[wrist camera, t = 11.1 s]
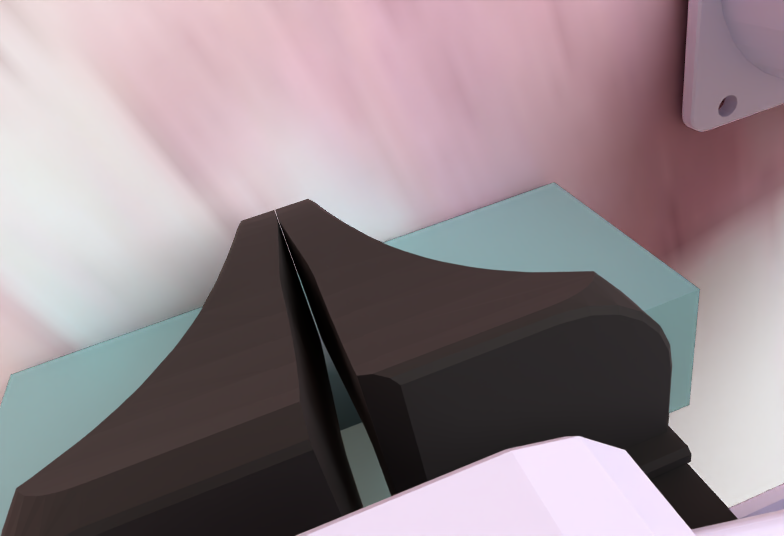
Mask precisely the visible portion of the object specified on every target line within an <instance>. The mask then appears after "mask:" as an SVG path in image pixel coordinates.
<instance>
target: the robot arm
mask: <svg viewBox="0 0 784 536" xmlns="http://www.w3.org/2000/svg"><path fill="white" fill-rule="evenodd" d="M724 98H725V101H724V104H723V105H722V107H721V108H720V109H719V106H720V103H721V102H722V100H723V99H724ZM782 104H784V0H689V3H688V21H687V38H686V55H685V73H684V90H683V107H682V118H683V122H684V123H685V125H686V126H687V127H690V128H692V129H694V130H697V131H699V132H703V131H708V130H711V129H714V128H717V127H720V126H722V125H725V124H728V123H731V122H734V121H736V120H739V119H742V118H745V117H748V116H751V115H753V114H756V113H759V112H762V111H765V110H767V109H770V108H773V107H776V106H779V105H782ZM718 109H719V110H718ZM276 213H277V216H276V214H275V211H274V210H273V211H270V212H267V213H264V214H261V215H258V216H255V217H252V218H249V219H246V220H243V221H241V223H240V225H239V227H238V229H237V232H236V234H235V237H234V240H233V243H232V246H231V248H230V251H229V254H228V256H227V259H226V261H225V263H224V265H223V268H222V270H221V272H220V274H219V277H218V279H217V281H216V283H215V285H214V287H213V289H212V291H211V293H210V295H209V296H208V298H207V300H206V302H205V304H204V306H203V307H202V309H201V311H200V313H199V314H198V316H197V317H196V319H195V320H194V322H193V323H192V325H191V326H190V327H189V329H188V330H187V331H186V333H185V334H184V336H183V337H182V338H181V340H180V341H179V342H178V344H177V345H176V346H175V347H174V349H173V350H172V351H171V352H170V353H169V354H168V356H167V357H166V358H165V359H164V360H163V361H162V362H161V363H160V365H159V366H158V367H157V368H156V369H155V370H154V371H153V372H152V374H151V375H150V376H149V377H148V378H147V379H146V380H145V381H144V382H143V384H142V385H141V386H140V387H139V388H138V389H137V390H136V391H135V392H134V393H133V394H132V395H131V396H129V397H128V398H127V399H126V400H125V401H124V402H123V403H122V404H121V405H120V406H119V407H118V408H117V409H116V410H115V411H114V412H112V413H111V414H110V415H109V416H108V417H107V418H106V419H104V420H103V421H102V422H101V423H100V424H99V425H98V426H97V427H95V428H94V429H93V430H92V431H91V432H89V433H88V434H87V435H86V436H85V437H83V438H82V439H81V440H80V441H78V442H77V443H76V444H75V445H73V446H72V447H71V448H69V449H68V450H67V451H65V452H64V453H63V454H61V455H60V456H59V457H57V458H56V459H55V460H54V461H52V462H51V463H50V464H48V465H47V466H46V467H44V468H43V469H42V470H40V471H39V472H38V473H36V474H35V475H34V476H33V477H31V478H30V479H28V480H27V481H26V482H24V483H23V484H21V485H20V486H19V487H17V488H16V490H15V493H14V496H13V499H12V502H11V505H10V508H9V511H8V514H7V517H6V520H5V523H4V526H3V529H2V533H1V536H784V483H783V484H781V485H779V486H777V487H775V488H772V489H770V490H768V491H766V492H764V493H761V494H759V495H757V496H755V497H752V498H750V499H748V500H746V501H744V502H741V503H739V504H737V505H735V506H732V507H730V508H728V507H727V506H726V505H725V504H724V503H723V502H722V501H721V500H720V498H719V497H718V496H717V495H716V494H715V493H714V492H713V491H712V490H711V489H710V488H709V486H708V485H707V484H706V483H705V482H704V481H703V480H702V479H701V478H700V477H699V476H698V474H697V473H696V472H695V471H694V470H693V469H692V468H691V467H690V466H689V465H688V464H687V463H689V462H691V452H690V450H689V448H688V446H687V445H686V444H685V443H684V442H683V441H682V440H681V439H680V438H679V436H678V435H677V434H676V433H675V432H674V431H673V430H672V429H671V428H670V427H669V426H668V420H669V406H670V392H671V377H672V358H671V347H670V343H669V341H668V339H667V337H666V335H665V333H664V331H663V330H662V328H661V326H660V325H659V324H658V323H657V322H656V321H655V320H653V319H652V318H651V317H650V316H649V315H648V314H646V313H645V312H644V311H643V310H642V309H641V308H640V307H639V306H638V305H637V304H635V303H634V302H633V301H632V300H631V299H630V298H629V297H627V296H626V295H625V294H624V293H623V292H622V291H620V290H619V289H618V288H616V287H615V286H613V285H612V284H611V283H609V282H608V281H607V280H605V279H604V278H602V277H601V276H600V275H598V274H597V273H596V272H594V271H574V272H520V271H505V270H492V269H484V268H476V267H469V266H464V265H458V264H453V263H447V262H442V261H438V260H434V259H430V258H426V257H423V256H419V255H416V254H413V253H410V252H406V251H403V250H400V249H397V248H395V247H392V246H389V245H387V244H385V243H382V242H380V241H378V240H376V239H373V238H371V237H369V236H367V235H365V234H364V233H362V232H360V231H358V230H356V229H355V228H353V227H351V226H349V225H347V224H346V223H344V222H342V221H341V220H339V219H338V218H336V217H335V216H333V215H332V214H330V213H329V212H327V211H326V210H324V209H323V208H322V207H320V206H319V205H318V204H316V203H315V202H313V201H311V200H309V199H306V200H303V201H300V202H297V203H294V204H291V205H288V206H285V207H282V208H279V209H276ZM277 217H278V219H277ZM278 220H279V222H278ZM279 223H280V225H281V227H280V225H279ZM281 228H282V230H281ZM282 231H283V233H282ZM283 234H284V236H285V238H284V236H283ZM285 239H286V241H285ZM286 242H287V244H286ZM287 245H288V247H287ZM288 248H289V249H288ZM289 250H290V252H289ZM290 253H291V255H290ZM291 256H292V258H291ZM292 259H293V260H292ZM293 261H294V263H293ZM294 264H295V266H294ZM295 267H296V269H295ZM296 270H297V272H298V274H297V272H296ZM298 275H299V277H298ZM299 278H300V280H299ZM300 281H301V283H302V285H301V283H300ZM302 286H303V288H302ZM303 289H304V291H303ZM304 292H305V294H306V296H305V294H304ZM306 297H307V299H306ZM307 300H308V302H307ZM308 303H309V305H310V308H311V311H312V313H311V311H310V308H309V305H308ZM312 314H313V316H314V319H315V322H316V325H317V328H318V330H319V333H320V336H321V339H322V341H323V343H324V345H325V347H326V349H327V351H328V353H329V355H330V357H331V360H332V362H333V364H334V366H335V368H336V370H337V372H338V374H339V376H340V378H341V380H342V382H343V384H344V386H345V388H346V390H347V392H348V394H349V396H350V398H351V400H352V402H353V404H354V407H355V409H356V411H357V413H358V415H359V417H360V419H361V421H362V423H363V425H364V427H365V429H366V432H367V434H368V436H369V439H370V441H371V443H372V445H373V448H374V451H375V453H376V456H377V459H378V462H379V464H380V467H381V470H382V472H383V475H384V478H385V481H386V483H387V486H388V489H389V492H390V494H391V497H389V498H386V499H384V500H381V501H379V502H376V503H374V504H372V505H369V506H367V507H363V504H362V501H361V498H360V495H359V492H358V489H357V486H356V483H355V480H354V477H353V474H352V471H351V468H350V465H349V462H348V459H347V455H346V451H345V448H344V444H343V440H342V436H341V432H340V427H339V422H338V418H337V413H336V408H335V404H334V399H333V394H332V390H331V385H330V380H329V375H328V371H327V366H326V362H325V357H324V352H323V348H322V343H321V339H320V336H319V334H318V331H317V328H316V325H315V322H314V319H313V316H312Z"/></svg>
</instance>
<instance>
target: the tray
mask: <svg viewBox="0 0 784 536" xmlns="http://www.w3.org/2000/svg"><path fill="white" fill-rule="evenodd" d="M384 243H385V244H387V245H389V246H392V247H395V248H397V249H400V250H403V251H406V252H410V253H413V254H416V255H419V256H423V257H426V258H430V259H434V260H438V261H442V262H447V263H453V264H458V265H464V266H469V267H476V268H484V269H492V270H505V271H520V272H574V271H594V272H596V273H597V274H598V275H600V276H601V277H602V278H604V279H605V280H607V281H608V282H609V283H611V284H612V285H613V286H615V287H616V288H618V289H619V290H620V291H622V292H623V293H624V294H625V295H626V296H627V297H629V298H630V299H631V300H632V301H633V302H634V303H635V304H637V305H638V306H639V307H640V308H641V309H642V310H643V311H644V312H645V313H646V314H648V315H649V316H650V317H651V318H652V319H653V320H655V321H656V322H657V323H658V324H659V325H660V326H661V328H662V330H663V331H664V333H665V335H666V337H667V339H668V341H669V343H670V347H671V358H672V377H671V392H670V406H669V413H671V412H673V411H676V410H678V409H680V408H683V407H685V406H688V405H689V402H690V391H691V380H692V369H693V358H694V347H695V336H696V325H697V313H698V302H699V291H700V289H699V288H697V287H696V286H695V285H693V284H692V283H691V282H689V281H688V280H687V279H685V278H684V277H682V276H681V275H680V274H678V273H677V272H676V271H674V270H673V269H672V268H670V267H669V266H668V265H666V264H665V263H663V262H662V261H661V260H659V259H658V258H657V257H655V256H654V255H653V254H651V253H650V252H648V251H647V250H646V249H644V248H643V247H642V246H640V245H639V244H638V243H636V242H635V241H633V240H632V239H631V238H629V237H628V236H627V235H625V234H624V233H623V232H621V231H620V230H619V229H617V228H616V227H614V226H613V225H612V224H610V223H609V222H608V221H606V220H605V219H604V218H602V217H601V216H599V215H598V214H597V213H595V212H594V211H593V210H591V209H590V208H589V207H587V206H586V205H584V204H583V203H582V202H580V201H579V200H578V199H576V198H575V197H574V196H572V195H571V194H570V193H568V192H567V191H565V190H564V189H563V188H561V187H560V186H559V185H557V184H556V183H555V182H553V183H551V184H548V185H545V186H542V187H539V188H537V189H534V190H531V191H528V192H525V193H522V194H520V195H517V196H514V197H511V198H508V199H505V200H503V201H500V202H497V203H494V204H491V205H489V206H486V207H483V208H480V209H477V210H474V211H472V212H469V213H466V214H463V215H460V216H457V217H455V218H452V219H449V220H446V221H443V222H441V223H438V224H435V225H432V226H429V227H426V228H424V229H421V230H418V231H415V232H412V233H410V234H407V235H404V236H401V237H398V238H395V239H393V240H390V241H387V242H384ZM297 274H298V273H297ZM298 277H299V275H298ZM299 280H300V278H299ZM300 283H301V281H300ZM301 285H302V283H301ZM302 288H303V286H302ZM303 291H304V289H303ZM304 294H305V292H304ZM305 296H306V294H305ZM306 299H307V297H306ZM307 302H308V300H307ZM308 305H309V303H308ZM309 308H310V305H309ZM201 309H202V307H201V308H198V309H195V310H192V311H189V312H187V313H184V314H181V315H178V316H175V317H172V318H170V319H167V320H164V321H161V322H158V323H155V324H153V325H150V326H147V327H144V328H141V329H139V330H136V331H133V332H130V333H127V334H124V335H122V336H119V337H116V338H113V339H110V340H107V341H105V342H102V343H99V344H96V345H93V346H91V347H88V348H85V349H82V350H79V351H76V352H74V353H71V354H68V355H65V356H62V357H59V358H57V359H54V360H51V361H48V362H45V363H43V364H40V365H37V366H34V367H31V368H28V369H26V370H23V371H20V372H17V373H14V374H11V376H10V379H9V382H8V385H7V388H6V391H5V394H4V397H3V400H2V403H1V405H0V536H1V533H2V529H3V526H4V523H5V520H6V517H7V514H8V511H9V508H10V505H11V502H12V499H13V496H14V493H15V490H16V488H17V487H19V486H20V485H21V484H23V483H24V482H26V481H27V480H28V479H30V478H31V477H33V476H34V475H35V474H36V473H38V472H39V471H40V470H42V469H43V468H44V467H46V466H47V465H48V464H50V463H51V462H52V461H54V460H55V459H56V458H57V457H59V456H60V455H61V454H63V453H64V452H65V451H67V450H68V449H69V448H71V447H72V446H73V445H75V444H76V443H77V442H78V441H80V440H81V439H82V438H83V437H85V436H86V435H87V434H88V433H89V432H91V431H92V430H93V429H94V428H95V427H97V426H98V425H99V424H100V423H101V422H102V421H103V420H104V419H106V418H107V417H108V416H109V415H110V414H111V413H112V412H114V411H115V410H116V409H117V408H118V407H119V406H120V405H121V404H122V403H123V402H124V401H125V400H126V399H127V398H128V397H129V396H131V395H132V394H133V393H134V392H135V391H136V390H137V389H138V388H139V387H140V386H141V385H142V384H143V382H144V381H145V380H146V379H147V378H148V377H149V376H150V375H151V374H152V372H153V371H154V370H155V369H156V368H157V367H158V366H159V365H160V363H161V362H162V361H163V360H164V359H165V358H166V357H167V356H168V354H169V353H170V352H171V351H172V350H173V349H174V347H175V346H176V345H177V344H178V342H179V341H180V340H181V338H182V337H183V336H184V334H185V333H186V331H187V330H188V329H189V327H190V326H191V325H192V323H193V322H194V320H195V319H196V317H197V316H198V314H199V313H200V311H201ZM310 311H311V308H310ZM311 313H312V311H311ZM312 316H313V314H312ZM313 319H314V316H313ZM314 322H315V319H314ZM315 325H316V322H315ZM316 328H317V325H316ZM317 331H318V334H319V336H320V333H319V330H318V328H317ZM320 339H321V336H320ZM321 343H322V348H323V352H324V357H325V362H326V366H327V371H328V375H329V380H330V385H331V390H332V394H333V399H334V404H335V408H336V413H337V418H338V422H339V427H340V432H341V436H342V440H343V444H344V448H345V451H346V455H347V459H348V462H349V465H350V468H351V471H352V474H353V477H354V480H355V483H356V486H357V489H358V492H359V495H360V498H361V501H362V504H363V507H367V506H369V505H372V504H374V503H376V502H379V501H381V500H384V499H386V498H389V497H391V494H390V492H389V489H388V486H387V483H386V481H385V478H384V475H383V472H382V470H381V467H380V464H379V462H378V459H377V456H376V453H375V451H374V448H373V445H372V443H371V441H370V439H369V436H368V434H367V432H366V429H365V427H364V425H363V423H362V421H361V419H360V417H359V415H358V413H357V411H356V409H355V407H354V404H353V402H352V400H351V398H350V396H349V394H348V392H347V390H346V388H345V386H344V384H343V382H342V380H341V378H340V376H339V374H338V372H337V370H336V368H335V366H334V364H333V362H332V360H331V357H330V355H329V353H328V351H327V349H326V347H325V345H324V343H323V341H322V339H321Z"/></svg>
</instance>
